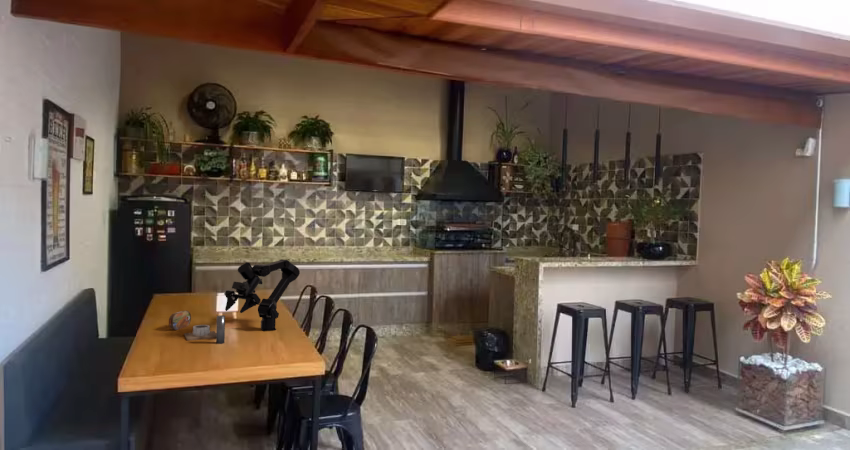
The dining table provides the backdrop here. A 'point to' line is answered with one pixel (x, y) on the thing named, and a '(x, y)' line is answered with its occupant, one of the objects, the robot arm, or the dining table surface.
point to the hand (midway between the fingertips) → (233, 311)
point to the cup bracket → (201, 330)
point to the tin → (179, 320)
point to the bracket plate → (190, 337)
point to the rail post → (220, 329)
